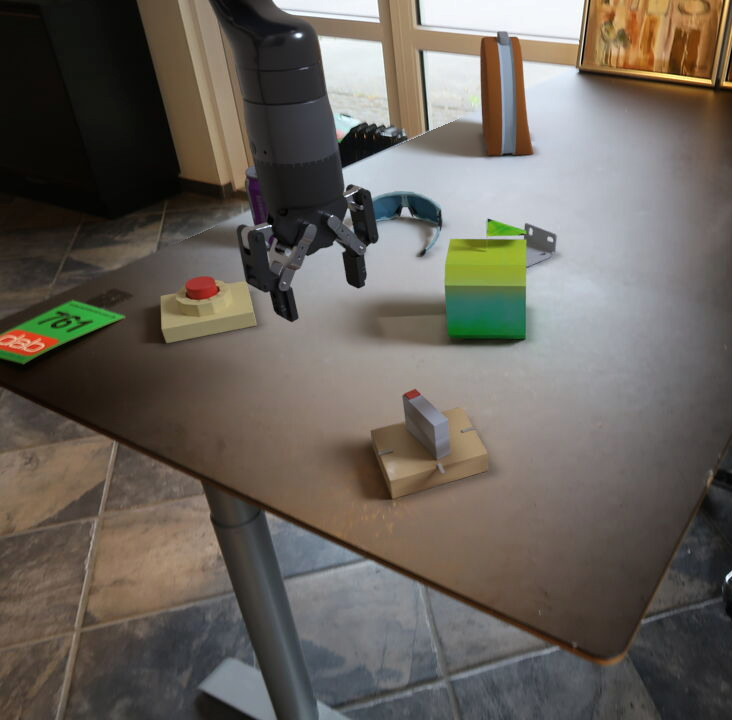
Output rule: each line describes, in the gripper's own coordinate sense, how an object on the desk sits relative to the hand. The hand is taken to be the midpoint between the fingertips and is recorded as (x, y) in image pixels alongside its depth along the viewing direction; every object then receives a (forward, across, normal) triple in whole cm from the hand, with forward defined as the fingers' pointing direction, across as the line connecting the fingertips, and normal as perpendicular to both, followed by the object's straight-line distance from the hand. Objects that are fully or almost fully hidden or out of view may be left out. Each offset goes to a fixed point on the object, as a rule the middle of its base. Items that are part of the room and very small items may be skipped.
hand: (324, 301), depth 72 cm
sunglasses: (+14, +34, +27) cm, 46 cm away
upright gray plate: (+11, -1, -14) cm, 18 cm away
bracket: (+14, +41, +6) cm, 44 cm away
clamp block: (+14, -1, -14) cm, 20 cm away
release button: (+10, +1, +28) cm, 30 cm away
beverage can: (+14, +21, +40) cm, 47 cm away
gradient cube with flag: (+14, +23, -2) cm, 27 cm away
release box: (+14, +1, +28) cm, 31 cm away
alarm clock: (+14, +81, +42) cm, 93 cm away
